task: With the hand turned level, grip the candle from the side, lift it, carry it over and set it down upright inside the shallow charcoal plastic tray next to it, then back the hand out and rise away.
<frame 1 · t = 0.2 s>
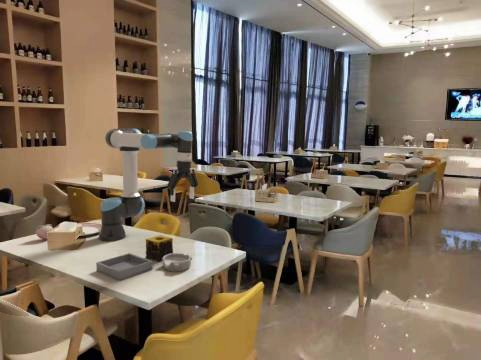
hand: (182, 200, 211), 27 cm above the table, tool pointing down, fingers open, 13 cm apart
dinner plate: (82, 233, 246), on the table
tray: (124, 270, 184), on the table
decorative fruit: (45, 240, 230), on the table
candle: (159, 257, 202), on the table
dish: (177, 267, 189), on the table
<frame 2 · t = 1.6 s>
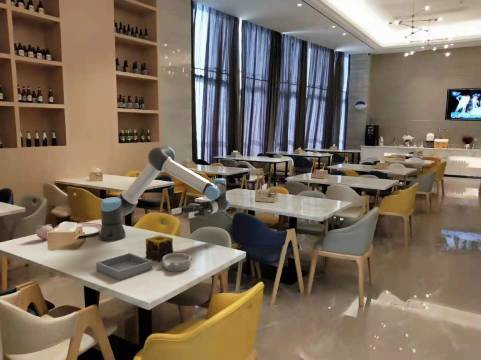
hand: (180, 213, 210), 20 cm above the table, tool horizontal, fingers open, 13 cm apart
nothing on the table moved.
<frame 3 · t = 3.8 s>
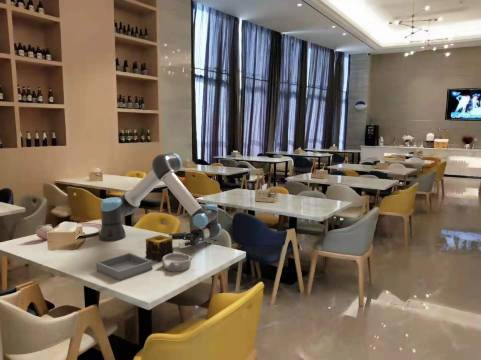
hand: (170, 243, 206), 6 cm above the table, tool horizontal, fingers open, 13 cm apart
nothing on the table moved.
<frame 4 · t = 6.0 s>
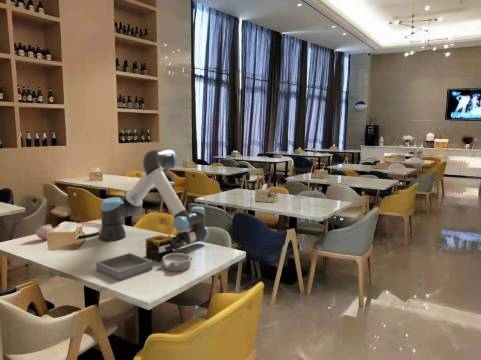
hand: (152, 247, 198), 6 cm above the table, tool horizontal, fingers closed on candle, 10 cm apart
candle: (159, 257, 202), on the table, touching gripper
everything else where it was.
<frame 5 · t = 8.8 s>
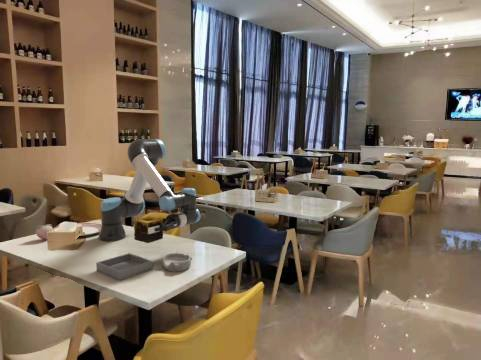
hand: (141, 229, 188), 18 cm above the table, tool horizontal, fingers closed on candle, 10 cm apart
candle: (148, 239, 192), point 12 cm above the table, touching gripper
everything else where it was.
when the fingers open (9 cm above the table, at t = 11.8 s): candle drops 2 cm, resting on tray.
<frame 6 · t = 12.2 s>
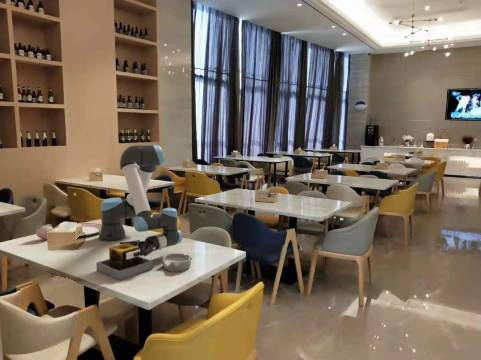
hand: (117, 253, 180), 9 cm above the table, tool horizontal, fingers open, 13 cm apart
candle: (124, 268, 184), point 1 cm above the table, touching tray
everything else where it was.
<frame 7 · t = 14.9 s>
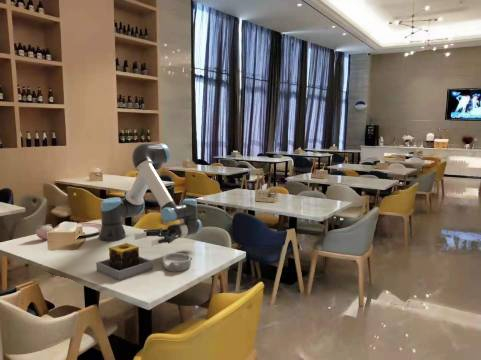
hand: (143, 240, 191), 12 cm above the table, tool horizontal, fingers open, 13 cm apart
nothing on the table moved.
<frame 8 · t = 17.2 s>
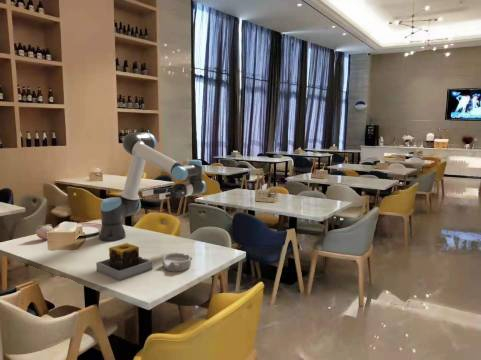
hand: (151, 195, 199), 32 cm above the table, tool horizontal, fingers open, 13 cm apart
nothing on the table moved.
at the end: candle inside the target area on the tray (0.2 cm from its centre), point 0.8 cm above the tray's base; candle tilted 0°; the gripper is holding nothing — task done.
